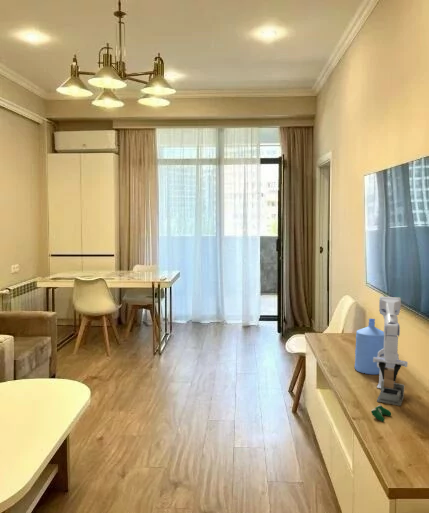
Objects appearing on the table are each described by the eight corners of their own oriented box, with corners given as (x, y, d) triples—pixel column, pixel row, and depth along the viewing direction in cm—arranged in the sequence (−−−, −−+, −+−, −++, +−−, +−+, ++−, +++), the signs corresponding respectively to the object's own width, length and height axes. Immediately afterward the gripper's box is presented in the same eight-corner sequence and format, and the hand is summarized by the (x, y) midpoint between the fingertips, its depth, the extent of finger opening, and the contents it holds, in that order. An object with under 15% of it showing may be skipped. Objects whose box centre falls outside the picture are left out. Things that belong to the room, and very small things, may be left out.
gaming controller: (386, 418, 212) (377, 406, 215) (393, 414, 210) (383, 401, 213) (377, 425, 205) (368, 412, 208) (384, 420, 203) (374, 407, 206)
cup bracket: (381, 393, 236) (381, 380, 236) (403, 397, 232) (404, 384, 231) (376, 401, 226) (377, 388, 225) (400, 405, 221) (401, 392, 221)
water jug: (388, 375, 263) (391, 322, 260) (358, 374, 263) (361, 322, 261) (379, 366, 278) (382, 316, 276) (351, 365, 279) (353, 315, 276)
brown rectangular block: (385, 384, 230) (385, 367, 230) (394, 385, 229) (395, 368, 228) (383, 387, 227) (384, 369, 226) (392, 388, 225) (393, 371, 224)
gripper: (372, 350, 226) (371, 379, 227) (406, 354, 219) (405, 385, 220) (375, 346, 232) (373, 375, 233) (408, 350, 226) (407, 380, 227)
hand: (389, 379), depth 227 cm, fingers closed on brown rectangular block, 4 cm apart
